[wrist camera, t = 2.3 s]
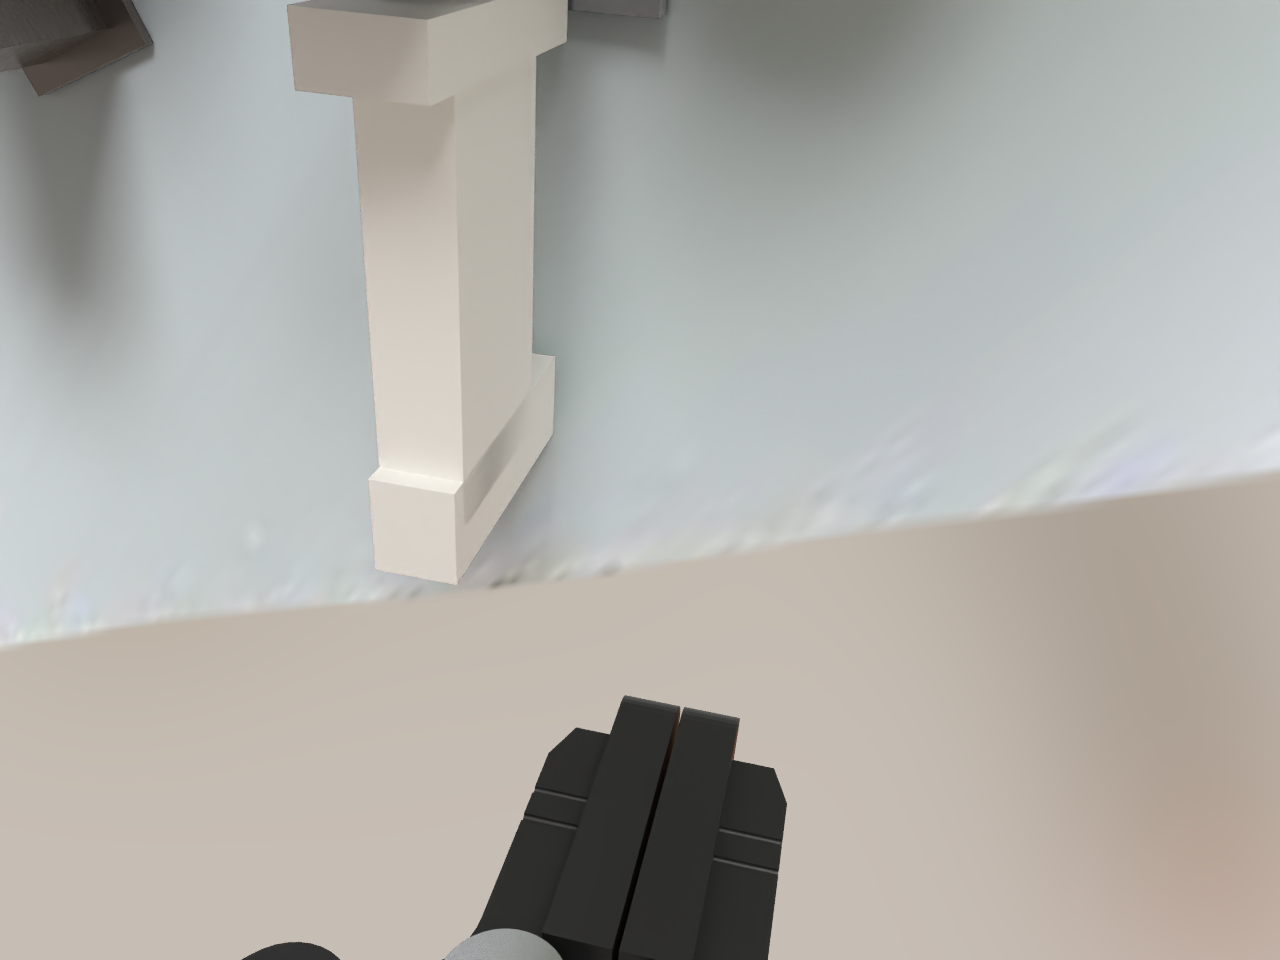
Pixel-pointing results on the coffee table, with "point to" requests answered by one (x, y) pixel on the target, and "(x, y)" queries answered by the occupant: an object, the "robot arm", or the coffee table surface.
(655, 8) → the post
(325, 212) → the coffee table surface
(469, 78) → the gate
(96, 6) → the post
